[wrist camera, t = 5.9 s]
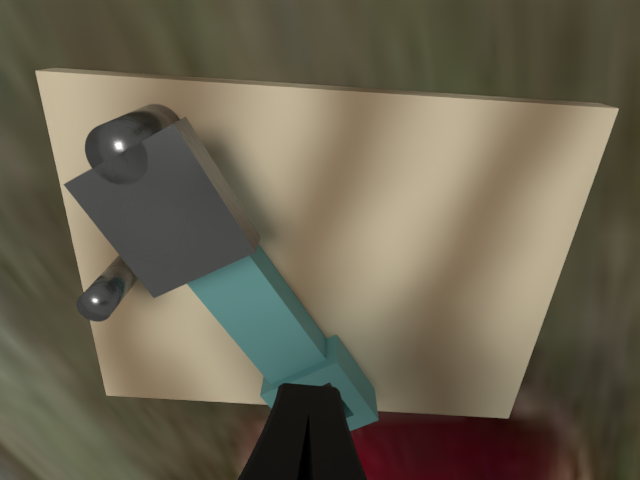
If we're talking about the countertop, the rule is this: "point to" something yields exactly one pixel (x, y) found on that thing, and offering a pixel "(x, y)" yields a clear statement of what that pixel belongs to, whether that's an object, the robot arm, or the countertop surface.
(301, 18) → the countertop surface
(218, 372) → the base board
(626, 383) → the countertop surface
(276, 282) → the link
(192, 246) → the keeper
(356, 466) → the robot arm
